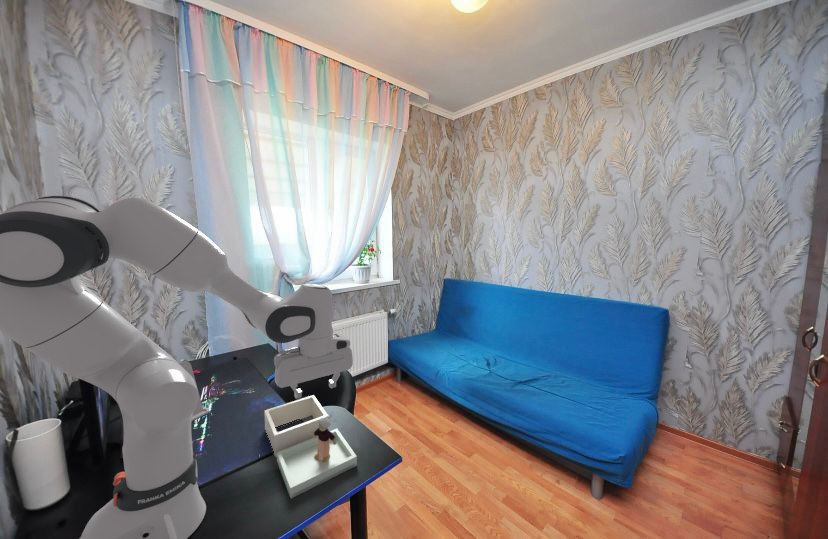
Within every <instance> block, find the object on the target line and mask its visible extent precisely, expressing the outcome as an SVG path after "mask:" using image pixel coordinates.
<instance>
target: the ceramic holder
mask: <svg viewBox="0 0 828 539" xmlns="http://www.w3.org/2000/svg"><path fill="white" fill-rule="evenodd" d="M263 414H264V431H265V430H266V431H265V433H267V434H266V436H267V435H268V436H267V438H269V439H268V441H269V440H270V442H269V444H270V443H271V445H270V446H272V447H271V449H272V448H273V450H272V452H273V451H274V453H273V455H274V457H275V458H277V452H279V451H282V450H284V449H287V448H289V447H292V446H294V445H297V444H299V443H302V442H304V441H307V440H309V439H312V438H313V435H314V432H315V431H316V430H317V429H318V428H319V424H318V421H319V419H320V418H323V417H325V418H328V419H329V420H330V418H329V414H328V413H327V411H326V410H325V409H324V407H323V406H322V405H321V403H320V401H318V399H317V398H316V396H315V395H314V394H313V395H310V396H309V395H308V396H305V397H301V398H298V399H295V400H294V401H293V400H292V401H290V402H286V403H284V404H281V405H278V406H274V407H271V408H268V409H266V410H265V409H264V413H263ZM311 416H312V417H313V419H311V420H308V421H305V422H302V423H299V424H296V425H294V426H290V427H289V428H286V429H283V430H281V431H278V430H277V428H275V427H278V426H280V425H283V424H286V423H289V422H292V421H294V420H296V419H300V420H302V419H306V418H308V417H311ZM292 423H293V422H292ZM289 424H290V423H289ZM286 425H287V424H286ZM283 426H284V425H283ZM329 427H330V426H329ZM329 427H328V428H327V429H328V430H329V431H330V428H329ZM278 428H279V427H278ZM316 437H317V436H316Z"/></svg>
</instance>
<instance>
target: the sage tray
mask: <svg viewBox="0 0 828 539" xmlns="http://www.w3.org/2000/svg"><path fill="white" fill-rule="evenodd" d="M329 431H330V432H331V433H332V434H333V435H334V436H335V439H336V442H337V443H336V444H335V445H334V444H333V442H332V440H330V438H329V445H330V450H329V454H330V458H329V460H328V461H327V462H323V461H322V460H319V459H318V460H316V459H315V458H314V456H315V454H317V447H318V436H317V437H316V438H312V439H309V440H307V441H304V442H302V443H299V444H297V445H294V446H292V447H289V448H287V449H284V450H282V451H279V452H277V457H276V464H277V465H278V466H277V467H278V469H279V472H280V474H281V476H282V479H283V482H284V484H285V487H286V490H287V493H288V496H289V497H290V499H293V498H295V497H297V496H299V495H302V494H303V493H305V492H307V491H309V490H311V489H313V488H315V487H317V486H319V485H321V484H323V483H325V482H327V481H329V480H331V479H333V478H334V477H336V476H339V475H341V474H343V473H345V472H348V471H349V470H350V469H351V470H352V469H353V468H355V467H357V466H358V465H357V464H358V458H357V457H358V456H357V454H356V453H355V452H354V450H353V449H352V447H351V445H349V443H348V441H346V439H345V438H344V436H343V435H342V433H341V432H340V431H339V429H338V428H335V429H332V430H329Z"/></svg>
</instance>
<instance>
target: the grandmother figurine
mask: <svg viewBox="0 0 828 539" xmlns="http://www.w3.org/2000/svg"><path fill="white" fill-rule="evenodd" d="M318 424H319V428H318V429H317V430H316V431H315V432H314V435H313V438H316V436H318V447H317V454H315V456H314V458H315V459H316V460H318V459H319V460H322V461H323V462H327V461H328V460H329V458H330V454H329V450H330V445H329V438H330V440H332V442H333V444H334V445H335V444H336V443H337V442H336V439H335V436H334V435H333V434H332V433H331V432H330V431H331V430H330V429H329V430H328V429H327V428H328V427H330V426H331V425H332V423H331V421H330V418H329V419H328V418H325V417H323V418H320V419H319V421H318Z"/></svg>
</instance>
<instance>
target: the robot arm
mask: <svg viewBox="0 0 828 539" xmlns="http://www.w3.org/2000/svg"><path fill="white" fill-rule="evenodd" d="M109 259H118V260H122V261H125V262H128V263H129V264H132V265H134V266H135V267H137V268H139V269H141V270H142V271H144V272H146V273H148V274H150V275H151V276H153V277H155V278H157V279H158V280H160V281H163V282H164V283H166V284H168V285H170V286H173V287H176V288H179V289H181V290H184V291H186V292H190V293H197V292H207V293H210V294H212V295H215V296H217V297H218V298H220V299H222V300H223V301H224V302H227V303H228V304H230V305H231V306H234V307H235V308H237V309H239V311H241V312H242V314H243V315H244V317H245V319H246V321H247V322H248V323H249V325H250V326H252V327H253V328H255V329H257V330H258V331H259V332H260V333H261V334H263V335H264V337H266V338H268V339H269V340H271V341H273V342H275V343H278V344H287V343H291V342H293V341H295V340H296V341H298V342H297V344H298V345H297V346H296V347H292V348H289V349H282V350H280V351H279V352H277V353H276V354H275V355H274V358H273V365H274V367H275V370H274V382H275V385H276V386H277V387H279V388H280V389H283V388H286V387H290V388H291V390H292V391H293V394H294V398H295V400H298V399H301V398H303V395H302V394H303V390H301V388H297V387H298V384H301V383H304V382H309V381H312V380H316V379H318V378H319V379H320V378H322V377H323V378H324V377H326V376H330V375H333V376H332V377H331V379H329V380H328V387H329V388H330V389H333V388H336V387H337V381H338V379H339V378H340V376H341V373H342V372H345V371H350V370H351V368H352V367H353V363H354V362H353V361H354V360H353V358H354V357H353V351H352V349H351V347H350V346H351V340H350V339H349V338H348V337H347V336H345V335H344V334H342V333H339V332H334V329H333V319H334V300H333V294H332V291H331V289H330V288H329V287H327V286H325V285H323V284H317V283H310V282H308V283H304V284H301V285H300V286H299V288H297V289H296V290H295V291H294V292H293V293H290V294H289V295H287V296H286V297H282V296H281V295H280V294H277V293H276V292H272V291H271V292H270V291H268V290H267V291H266V290H261V289H258V288H257V287H255V286H254V285H252V284H251V283H249V282H248V281H246V280H245V279H243V278H242V277H241V276H239V275H238V274H237V273H236V272H234V271H233V270H232V268H231V267H230V266H229V264H228V257H227V255H226V254H225V253H224V251H223V250H222V249H221V248H220V246H218V245H217V244H216V243H215V241H213V240H212V239H210V237H208V236H207V235H205V234H204V233H203V232H202V231H201V230H199V229H198V228H196V227H195V226H193V225H192V224H191V223H189V222H187V221H186V220H184V219H182V218H181V217H179V216H178V215H176V214H174V213H173V212H171V211H169V210H167V209H166V208H164V207H162V206H160V205H158V204H156V203H154V202H153V201H150V200H147V199H145V198H142V197H129V198H124V199H120V200H118V201H116V202H113V203H112V204H110V205H109V206H107V207H106V208H105V209H103V210H100V209H99V208H98V207H97V206H96V205H93V204H92V203H90V202H89V201H87V200H86V201H85V200H83V199H80V198H78V197H71V196H64V195H49V196H41V197H39V198H36V199H33V200H28V201H24V202H20V203H18V204H15V205H13V206H11V207H8V208H7V209H6V210H4V211H3V212H2V213H1V214H0V331H1V333H3V335H6V336H7V337H8V338H10V339H11V340H12V341H14V342H15V343H17V344H18V345H20V347H22V348H24V349H25V350H28V351H29V352H31V353H33V354H34V355H35V356H38V357H39V358H40V359H42V360H44V361H45V362H47V364H50V365H52V366H53V367H55V368H56V369H58V370H59V371H61V372H63V373H64V374H66V375H67V376H69V377H72V378H74V379H79V380H82V381H84V382H87V383H89V384H91V385H93V386H95V387H98V388H99V389H101V390H103V391H104V392H106V393H107V394H108V395H110V396H111V397H112V399H114V401H115V402H116V403H117V405H118V408H119V411H120V413H121V416H122V425H123V426H122V427H123V442H122V444H123V445H122V446H121V448H122V449H121V450H122V451H121V452H122V459H123V468H124V471H120V472H118V473H116V474H115V476H114V477H113V482H112V485H113V486H114V488H113V491H112V499H110V500H109V501H108V502H107V503H106V504H105V505H103V507H101V508H100V509H99V510H98V511H96V512H95V513H94V514H92V516H91V518H90V519H89V521H88V522H87V524H86V525H85V528H84V529H83V531H82V533H81V536H80V537H79V539H188V538H189V537H190V536H192V534H194V532H195V531H196V530H197V529H198V528H199V526H200V524H201V523H202V522H203V519H204V518H205V515H206V512H207V505H206V502H205V500H204V498H203V496H202V495H201V492H200V490H199V486H198V475H199V474H198V463H197V459H196V454H195V452H194V451H193V437H192V422H193V421H192V416H193V412H194V410H195V408H196V406H197V404H198V398H199V397H198V392H199V390H198V391H197V388H198V386H197V387H196V384H197V383H196V384H195V381H196V380H195V381H194V379H193V378H192V376H191V375H190V374H189V373H188V372H187V371H186V370H185V369H184V368H183V367H182V366H181V365H180V364H179V363H180V362H178V361H177V360H176V359H175V358H174V357H173V356H171V354H169V353H168V352H167V351H166V350H164V348H161V347H160V346H159V345H158V344H157V343H156V342H155V341H153V340H152V339H151V338H150V337H148V336H147V335H146V334H144V333H143V332H142V331H140V329H138V328H137V327H135V325H133V324H132V323H131V322H129V321H128V320H127V319H126V318H125V317H123V315H121V314H120V313H119V312H118V311H116V310H115V309H114V308H113V307H111V306H110V305H109V304H108V303H107V302H106V301H104V300H103V299H102V298H101V297H99V296H98V295H97V294H96V293H94V292H93V291H92V290H91V289H90V288H89V287H88V286H86V285H85V284H84V281H82V279H81V278H80V275H82V274H85V273H86V272H88V271H91V270H93V269H96V268H98V267H100V266H103V265H105V264H107V262H108V260H109Z"/></svg>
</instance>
